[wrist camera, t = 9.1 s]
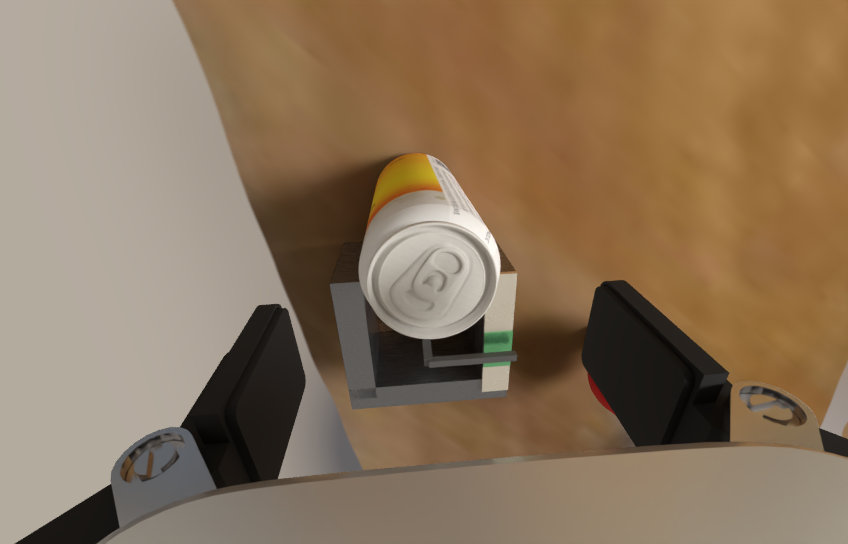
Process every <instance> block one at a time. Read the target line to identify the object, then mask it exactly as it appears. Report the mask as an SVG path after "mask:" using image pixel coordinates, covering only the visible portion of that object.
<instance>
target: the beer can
mask: <svg viewBox="0 0 848 544" xmlns="http://www.w3.org/2000/svg"><path fill="white" fill-rule="evenodd" d="M499 276H500V255H499V251H498V247H497V244H496V242H495V240H494V238H493V236H492V235H491V233H490V231H489V230H488V228H487V227H486V225H485V224H484V222H483V221H482V219H481V218H480V216H479V215H478V213H477V211H476V210H475V208H474V207H473V205H472V204H471V202H470V201H469V199H468V198H467V196H466V195H465V193H464V192H463V190H462V189H461V187H460V186H459V184H458V183H457V181H456V179H455V178H454V176H453V175H452V173H451V172H450V170H449V169H448V168H447V167H446V166H445V165H444V164H443V163H442V162H441V161H440V160H438V159H436V158H435V157H432V156H430V155H427V154H422V153H411V154H406V155H403V156H400V157H398V158H396V159H394V160H393V161H392V162H390V163H389V164H388V165H387V166H386V167H385V168H384V170H383V171H382V173H381V174H380V176H379V178H378V181H377V184H376V189H375V193H374V198H373V202H372V206H371V211H370V215H369V220H368V224H367V228H366V233H365V237H364V242H363V246H362V251H361V255H360V260H359V280H360V285H361V288H362V291H363V293H364V295H365V297H366V299H367V301H368V302H369V304H370V305H371V306H372V308H373V310H374V311H375V313H376V314H377V316H378V317H379V318H380V319H381V320H382V321H383V322H384V323H385V324H386V325H387V326H389V327H390V328H392V329H393V330H395V331H397V332H399V333H401V334H403V335H406V336H409V337H413V338H419V339H439V338H445V337H449V336H452V335H455V334H458V333H460V332H462V331H464V330H466V329H467V328H469V327H471V326H472V325H473V324H475V323H476V322H477V321H478V320H479V319H480V318H481V317H482V316H483V315H484V314H485V313H486V311H487V310H488V308H489V307H490V305H491V303H492V301H493V299H494V296H495V293H496V289H497V284H498V280H499Z"/></svg>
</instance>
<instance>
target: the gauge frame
mask: <svg viewBox="0 0 848 544" xmlns="http://www.w3.org/2000/svg"><path fill="white" fill-rule="evenodd" d="M491 235H492V234H491ZM493 238H494V237H493ZM494 240H495V239H494ZM495 242H496V240H495ZM496 244H497V247H498V251H499V255H500V276H499V280H498V284H497V289H496V293H495V296H494V299H493V301H492V303H491V305H490V307H489V308H488V310H487V311H486V313H485V314H484V315H483V316H482V317H481V318H480V319H479V320H478V321H477V322H476V323H475V324H473V325H472V326H471V327H469V328H467V329H466V330H464V331H462V332H460V333H458V334H455V335H452V336H449V337H445V338H439V339H430V340H431V348H432V355H433V357H438V356H450V355H463V354H476V353H489V352H502V351H511V350H512V338H513V320H514V307H515V295H516V282H517V272H516V271H515V269H514V268H513V266H512V265H511V263H510V262H509V260H508V258H507V257H506V255H505V254H504V252H503V251H502V249H501V248H500V246H499V245H498V243H497V242H496ZM362 246H363V242H351V243H344V244H343V247H342V250H341V253H340V256H339V259H338V262H337V264H336V267H335V270H334V273H333V276H332V279H331V281H330V289H331V294H332V300H333V305H334V311H335V316H336V322H337V327H338V333H339V339H340V344H341V350H342V355H343V361H344V366H345V372H346V377H347V383H348V388H349V394H350V400H351V405H352V409H362V408H375V407H387V406H399V405H411V404H423V403H435V402H447V401H460V400H472V399H484V398H496V397H506V391H507V390H508V382H509V369H510V363H511V361H510V362H498V363H485V364H472V365H459V366H447V367H434V368H429V366H424V356H423V346H422V339H419V338H413V337H409V336H406V335H403V334H401V333H399V332H397V331H392V332H380V331H379V323H378V316H377V314H376V313H375V311H374V310H373V308H372V306H371V305H370V304H369V302H368V301H367V299H366V297H365V295H364V293H363V291H362V288H361V285H360V280H359V260H360V255H361V251H362Z"/></svg>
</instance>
